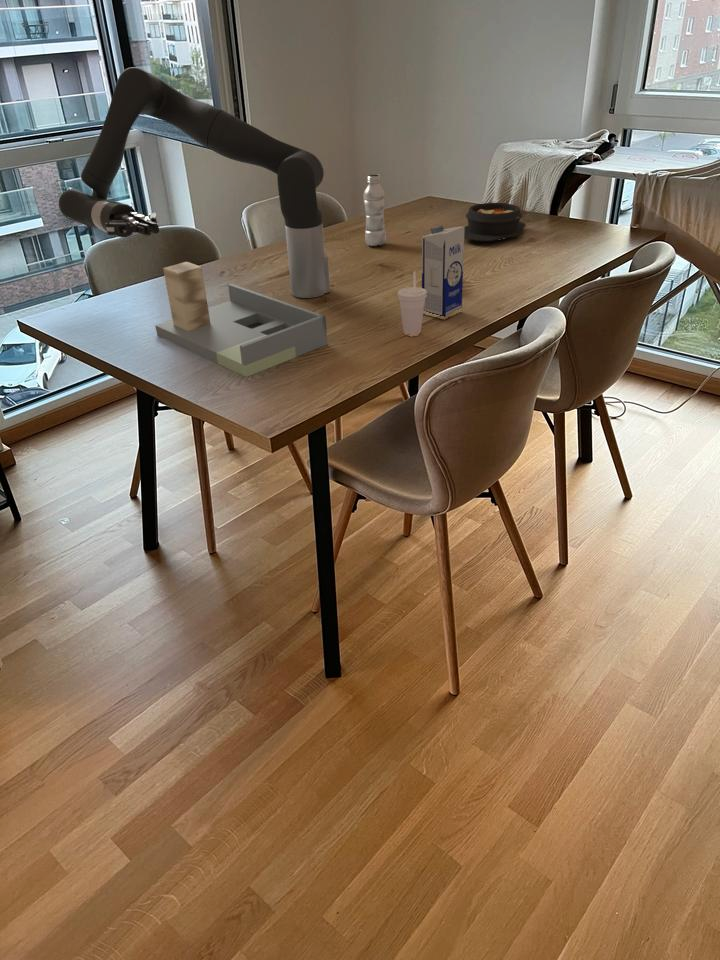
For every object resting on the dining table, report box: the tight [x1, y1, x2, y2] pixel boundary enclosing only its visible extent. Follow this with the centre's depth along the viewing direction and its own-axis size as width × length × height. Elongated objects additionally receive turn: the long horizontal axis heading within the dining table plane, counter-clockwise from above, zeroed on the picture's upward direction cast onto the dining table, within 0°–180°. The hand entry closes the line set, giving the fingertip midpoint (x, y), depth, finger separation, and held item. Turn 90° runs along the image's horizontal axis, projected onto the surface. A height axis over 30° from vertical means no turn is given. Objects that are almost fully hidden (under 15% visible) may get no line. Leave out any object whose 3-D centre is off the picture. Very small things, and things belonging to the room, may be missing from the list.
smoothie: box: [396, 270, 427, 335], centre depth 165 cm, size 6×6×14 cm
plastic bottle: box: [363, 173, 387, 247], centre depth 223 cm, size 6×7×20 cm
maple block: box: [162, 261, 211, 331], centre depth 168 cm, size 6×6×13 cm
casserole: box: [464, 202, 527, 242], centre depth 230 cm, size 25×19×8 cm
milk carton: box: [421, 225, 465, 317], centre depth 173 cm, size 7×7×20 cm
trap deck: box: [154, 283, 328, 378], centre depth 168 cm, size 22×34×6 cm, turn 44°
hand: (152, 229), depth 168 cm, fingers closed
